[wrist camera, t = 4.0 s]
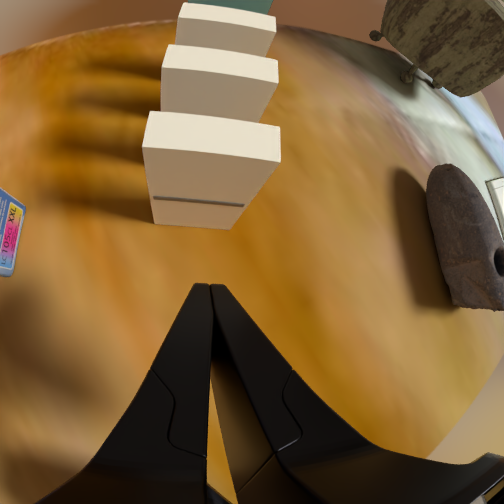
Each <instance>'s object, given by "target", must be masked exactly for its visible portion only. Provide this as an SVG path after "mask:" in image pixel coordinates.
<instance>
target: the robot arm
mask: <svg viewBox="0 0 504 504" xmlns="http://www.w3.org/2000/svg"><path fill="white" fill-rule="evenodd" d="M210 377H211V383H212V388H213V393H214V399H215V404H216V409H217V414H218V419H219V424H220V428H221V433H222V438H223V442H224V447H225V451H226V456H227V460H228V464H229V468H230V473H231V477H232V481H233V485H234V489H235V493H236V497H237V501H238V504H504V457H503V456H500V455H496V454H492V453H489V452H488V453H486V454H484V455H482V456H481V457H479V458H477V459H476V460H474V461H473V462H471V463H469V464H460V465H457V464H448V463H442V462H437V461H432V460H427V459H423V458H418V457H414V456H409V455H405V454H401V453H397V452H393V451H389V450H386V449H384V448H381V447H379V446H377V445H375V444H373V443H372V442H370V441H369V440H367V439H366V438H365V437H363V436H362V435H361V434H360V433H359V432H358V431H356V430H355V429H354V428H353V427H352V426H351V425H349V424H348V423H347V422H346V421H345V420H344V419H343V418H341V417H340V416H339V415H338V414H337V413H336V412H335V411H334V410H332V409H331V408H330V407H329V406H328V405H327V404H326V403H325V402H324V401H323V400H322V399H321V398H320V397H319V396H318V395H317V394H316V393H315V392H314V391H313V390H312V389H311V388H310V387H309V386H308V385H307V384H306V383H305V381H304V380H303V379H302V378H301V377H300V376H299V375H298V373H297V372H296V371H295V370H292V366H291V365H290V364H289V363H288V362H287V361H286V359H285V358H284V357H283V356H282V355H281V353H280V352H279V351H278V350H277V349H276V347H275V346H274V345H273V344H272V343H271V341H270V340H269V339H268V338H267V337H266V335H265V334H264V333H263V332H262V330H261V329H260V328H259V327H258V326H257V324H256V323H255V322H254V321H253V319H252V318H251V317H250V316H249V315H248V313H247V312H246V311H245V310H244V308H243V307H242V306H241V305H240V303H239V302H238V301H237V300H236V298H235V297H234V296H233V295H232V293H231V292H230V291H229V290H228V288H227V287H226V286H225V285H223V284H210V286H209V284H207V283H195V284H194V285H193V286H192V288H191V290H190V292H189V294H188V296H187V298H186V299H185V301H184V303H183V305H182V307H181V309H180V311H179V313H178V315H177V316H176V318H175V320H174V322H173V324H172V326H171V328H170V330H169V332H168V334H167V336H166V338H165V340H164V341H163V343H162V345H161V347H160V349H159V351H158V353H157V355H156V357H155V359H154V361H153V363H152V365H151V367H150V370H149V371H148V373H147V375H146V377H145V379H144V381H143V382H142V384H141V386H140V388H139V390H138V392H137V393H136V395H135V397H134V399H133V400H132V402H131V403H130V405H129V406H128V408H127V410H126V411H125V413H124V414H123V416H122V417H121V419H120V420H119V421H118V423H117V424H116V426H115V427H114V429H113V430H112V432H111V433H110V434H109V436H108V437H107V439H106V440H105V442H104V443H103V445H102V446H101V447H100V449H99V450H98V452H97V453H96V454H95V456H94V457H93V458H92V459H91V461H90V462H89V463H88V464H87V465H86V466H85V467H84V468H83V469H82V470H81V471H80V472H79V473H77V474H76V475H75V476H73V477H72V478H71V479H69V480H68V481H66V482H65V483H64V484H62V485H61V486H59V487H58V488H56V489H55V490H54V491H52V492H51V493H49V494H48V495H46V496H45V497H43V498H42V499H41V500H39V501H38V502H36V503H35V504H232V503H231V502H230V501H228V500H227V499H226V498H225V497H223V496H222V495H221V494H220V493H219V492H217V491H216V490H215V489H214V488H213V487H211V486H210V485H209V484H208V483H207V460H206V458H207V438H208V413H209V391H210Z"/></svg>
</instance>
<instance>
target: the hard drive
mask: <svg viewBox="0 0 504 504" xmlns="http://www.w3.org/2000/svg"><path fill="white" fill-rule="evenodd" d="M487 186H488V188H489V191H490V194H491V197H492V200H493V203H494V206H495V209H496V212H497V215H498V219H499V222H500V225H501V229H502V232H503V236H504V178H501V179H497V180H493V181H489V182H487Z"/></svg>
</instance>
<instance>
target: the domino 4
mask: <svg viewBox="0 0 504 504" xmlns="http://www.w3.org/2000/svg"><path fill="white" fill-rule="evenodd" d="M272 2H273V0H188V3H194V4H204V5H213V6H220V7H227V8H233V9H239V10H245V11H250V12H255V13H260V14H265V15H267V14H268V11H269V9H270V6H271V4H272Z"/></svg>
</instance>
